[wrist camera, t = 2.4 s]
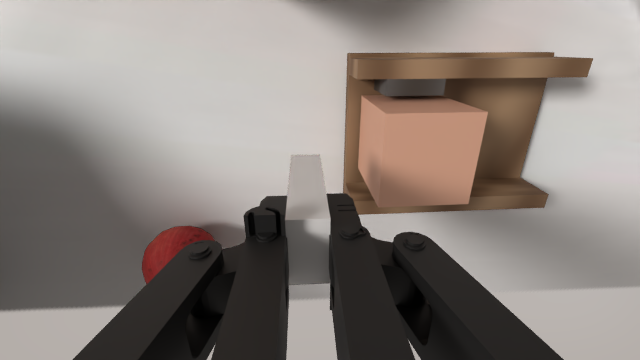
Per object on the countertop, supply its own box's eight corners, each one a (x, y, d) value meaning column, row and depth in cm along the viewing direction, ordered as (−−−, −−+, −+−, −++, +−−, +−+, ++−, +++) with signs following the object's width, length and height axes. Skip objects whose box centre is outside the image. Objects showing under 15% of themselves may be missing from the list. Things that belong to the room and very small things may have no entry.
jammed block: (358, 167, 26) (378, 207, 20) (361, 95, 24) (385, 113, 17) (426, 165, 26) (468, 204, 20) (437, 94, 24) (488, 112, 18)
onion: (208, 200, 28) (177, 255, 20) (237, 248, 30) (219, 313, 23) (151, 222, 28) (101, 283, 21) (184, 268, 31) (149, 338, 23)
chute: (343, 193, 28) (351, 218, 24) (347, 53, 24) (358, 54, 20) (508, 187, 29) (543, 210, 25) (544, 52, 25) (594, 53, 21)
